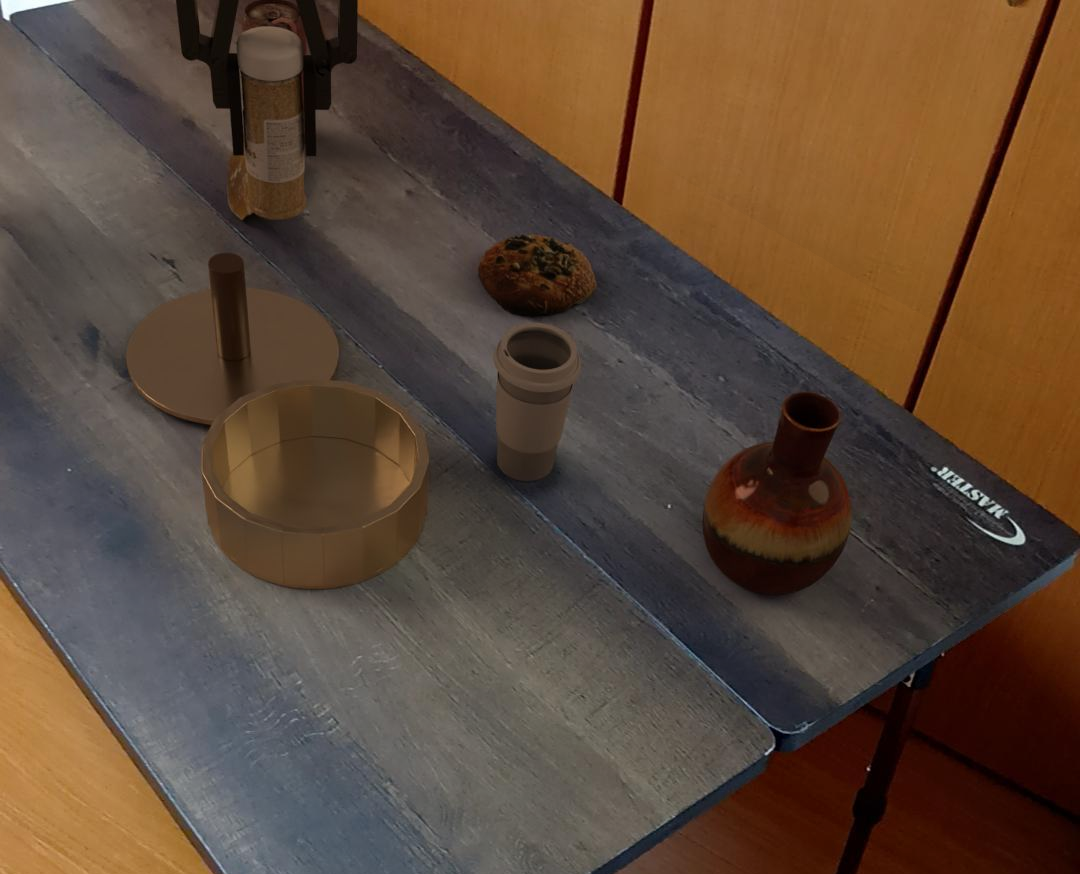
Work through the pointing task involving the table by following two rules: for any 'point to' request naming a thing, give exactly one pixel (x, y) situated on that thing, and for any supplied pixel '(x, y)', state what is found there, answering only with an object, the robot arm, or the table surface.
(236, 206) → the stone
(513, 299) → the bread roll
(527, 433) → the cup
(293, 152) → the sprinkles bottle
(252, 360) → the pot lid
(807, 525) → the vase
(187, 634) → the table surface
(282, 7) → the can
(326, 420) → the pot
